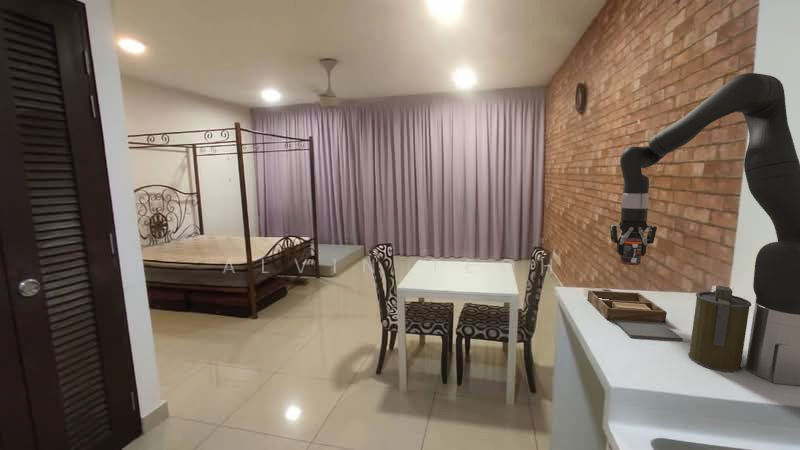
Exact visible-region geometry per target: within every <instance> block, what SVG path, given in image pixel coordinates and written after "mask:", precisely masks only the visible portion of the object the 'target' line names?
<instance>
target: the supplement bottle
mask: <svg viewBox="0 0 800 450" xmlns="http://www.w3.org/2000/svg"><path fill="white" fill-rule="evenodd" d="M623 245H624V248H623V255H619V262H620V263H621V264H623V265H627V266H640V264H641V263H642V262H641V258H642V256H641V249H642V239H641V238H640V237H639V232H631V233H630V235H629V236H628V238H627V239H626V240H625V242H624V243H623Z"/></svg>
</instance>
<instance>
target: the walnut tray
mask: <svg viewBox="0 0 800 450" xmlns="http://www.w3.org/2000/svg"><path fill="white" fill-rule="evenodd" d="M599 298H602V299H609V300H600V299H599ZM587 302H589V304H590V305H592V306H593V308H594V309H595V310H596V311H597V312H599V313H600V314H601V316H602V317H603V318H604V319H605V320H607V321H615V320H629V321H646V322H662V323H663V324H664V325H666V323H667V315H668V314H667V311H666V310H665V309H663V308H662V307H660V306H659V305H657V304H656V303H655V302H653V301H651V300H650V299H648V298H647V297H645V296H644V295H643V294H642V293H640V292H634V291H633V292H632V291H631V292H629V291H612V290H611V291H608V290H588V291H587ZM612 302H621V303H634V304H645V305H646V306H647V307H648V308H650V309H651V310H637V309H618V308H612Z"/></svg>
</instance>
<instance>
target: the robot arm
mask: <svg viewBox="0 0 800 450" xmlns="http://www.w3.org/2000/svg"><path fill="white" fill-rule="evenodd" d="M784 88H785V87H784V85H783V83H782V82H781V80H780V79H778V78H777V77H775V76H774V75H773V76H772V75H769V74H763V73H757V72H746V73H745V72H744V73H742V74H739V75H737V76H735V77H733V78H732V79H730V80H729V81H727V82H726V83H725V84H723V85H722V86H721V87H719V88H718V89H717V90H716V91H715V92H713V94H711V95H710V96H709V97H707V98H706V99H705V100H704V101H702V102H701V103H700V104H699V105H698V106H696V107H694V108H693V109H692V110H691V111H689V112H688V113H686V114H685V115H684V116H683V117H681V118H680V119H678V120H677V121H675V122H674V123H672V124H670V125H668V126H666V127H665V128H664V129H662V130H660V131H659V132H657V133H655V134H654V135H653V136H652V137H651V138H649V141H648V144H647V145H645V146H629V147H627V148H625V149H624V150H623V152H622V153H621V155H620V161H619V162H620V168H621V173H622V178H623V191H622V192H623V193H622V197H621V203H620V207H621V208H620V222H619V224H611V225H610V226H609V230H610V231H609V233H610V234H609V235H610V241H611V242H613V243H614V244H615V243H616V254H617V255H619V256H620V255H623V248H624V245H623V243H624V242H625V240H626V239H627V238H628V236H629V235H630V233H631V232H639V237H640V238H641V239H642V249H641V257H644V256H645V255H646V254H647V246H648V245H649V244H653V243H654V242H655V238H656V234H657V230H658V226H656V225H648V223H647V221H648V213H649V188H650V178H649V177H648V176H646V175H644V174H643V172H642V169H645V168H649V167H651V166H655V164H657V163H658V162H659V161H660V160H662V159H664V158H665V156H667V155H668V154H669V153H672V152H674V151H675V150H677V149H679V148H681V147H683V146H685V145H686V144H687V143H689V142H691V141H693V140H694V138H695V137H697V136H698V135H699V133H701V132H702V131H703V130H704V129H705V128H706V127H708V126H709V125H710V124H712V123H713V122H716V121H717V120H719V119H721V118H724V117H725V116H726V117H727V116H729V115H732V114H734V113H742V115H743V116H744V117H743V118H744V119H745V122H746V125H747V130H748V135H749V137H748V138H749V139H748V144H747V145H748V146H747V148H746V151H745V156H744V159H743V160H744V161H743V167H744V168H743V169H744V173H745V179H746V183H747V185H748V186H747V187H748V189H749V192H750V194H751V196H752V197H753V198H754V199H755V201H756V203H757V204H758V205H759V206H760V207H761V209H763V211H764V212H765V213H766V214H767V216H768V217H769V219H770V220H771V222H772V224H773V227H774V230H775V234H776V238H777V241H773V242H769V243H766V244H765V245H763V246H762V247H761V248H760V249H759V251H758V252H757V254H756V257H755V263H754V269H753V270H754V272H753V282H752V286H753V287H752V288H753V292H754V294H755V301H754V302H755V303H754V308H753V316H752V320H751V321H752V323H751V326H750V327H751V328H750V334H749V340H748V348H747V352H746V353H747V355H746V362H745V368H746V369H747V371H749V372H750V373H752V374H753V375H755V376H758V377H760V378H762V379H764V380H767V381H769V382H771V383H773V384H779V385H790V386H800V160H799V157H798V153H797V151H796V147H795V142H794V140H793V136H792V133H791V130H790V129H791V128H790V126H789V123H788V115H787V105H786V104H787V103H786V96H785V89H784ZM619 229H620V230H621V232H620V234H619V235H618V231H619ZM645 231H647V234H646V235H645V233H644V232H645Z"/></svg>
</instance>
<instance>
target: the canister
mask: <svg viewBox="0 0 800 450" xmlns="http://www.w3.org/2000/svg"><path fill="white" fill-rule="evenodd" d="M695 297H696V300H695V301H696V302H695V307H694V308H695V309H694V315H693V324H692V330H691V331H692V332H691V339H690V345H689V352H688V353H687V354H688V355H687V356H688V358H689V359H691V361H692V362H695V364H698V365H700V366H702V367H705V368H707V369H710V370H714V371H717V372H723V373H739V372H740V371H742V359H743V353H744V347H745V340H746V332H747V325H748V319H749V313H750V307H752V302H751V301H750V300H747V299H745V298H743V297H740V296H738V295H737V296H736V295H733V289H732V288H730V286H722V285H717V286H715V290H713V291H699V292H696V294H695Z"/></svg>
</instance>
